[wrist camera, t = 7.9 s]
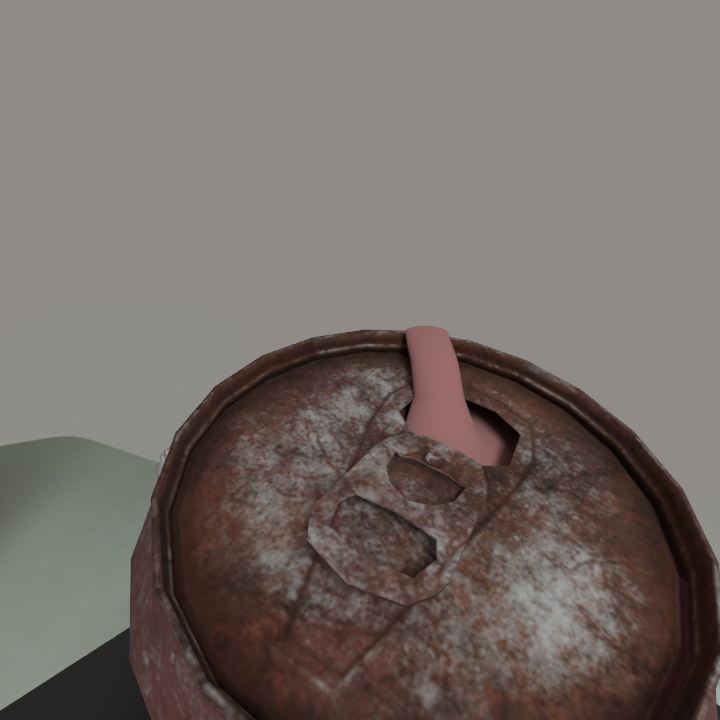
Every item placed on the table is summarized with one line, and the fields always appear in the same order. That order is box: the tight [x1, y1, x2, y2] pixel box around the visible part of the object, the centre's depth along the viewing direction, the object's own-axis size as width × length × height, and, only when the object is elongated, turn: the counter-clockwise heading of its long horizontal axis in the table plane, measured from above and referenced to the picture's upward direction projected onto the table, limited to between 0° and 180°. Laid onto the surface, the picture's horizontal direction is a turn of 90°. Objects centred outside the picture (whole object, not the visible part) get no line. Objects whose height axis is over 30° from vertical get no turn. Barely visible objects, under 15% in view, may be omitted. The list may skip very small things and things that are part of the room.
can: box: [130, 326, 720, 720], centre depth 9 cm, size 6×6×14 cm
